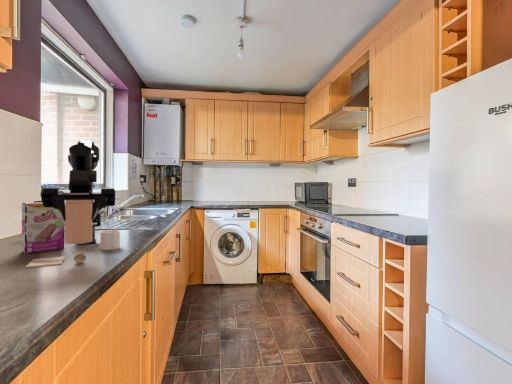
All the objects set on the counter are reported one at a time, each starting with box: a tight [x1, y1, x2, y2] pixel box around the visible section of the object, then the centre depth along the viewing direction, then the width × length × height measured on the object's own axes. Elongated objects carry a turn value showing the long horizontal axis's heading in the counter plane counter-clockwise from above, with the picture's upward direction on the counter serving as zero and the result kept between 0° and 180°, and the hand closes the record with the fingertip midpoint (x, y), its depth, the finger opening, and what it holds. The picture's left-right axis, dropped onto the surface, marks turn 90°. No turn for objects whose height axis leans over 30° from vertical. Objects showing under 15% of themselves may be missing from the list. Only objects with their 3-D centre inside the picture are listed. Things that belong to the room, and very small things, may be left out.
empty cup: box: [100, 229, 121, 251], centre depth 102 cm, size 6×6×6 cm
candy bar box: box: [21, 202, 65, 255], centre depth 96 cm, size 11×5×16 cm, turn 141°
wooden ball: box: [73, 252, 87, 265], centre depth 82 cm, size 3×3×3 cm
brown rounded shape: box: [64, 199, 93, 245], centre depth 82 cm, size 6×6×12 cm
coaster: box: [25, 256, 66, 269], centre depth 82 cm, size 8×8×1 cm
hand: (78, 219), depth 80 cm, fingers closed on brown rounded shape, 6 cm apart
